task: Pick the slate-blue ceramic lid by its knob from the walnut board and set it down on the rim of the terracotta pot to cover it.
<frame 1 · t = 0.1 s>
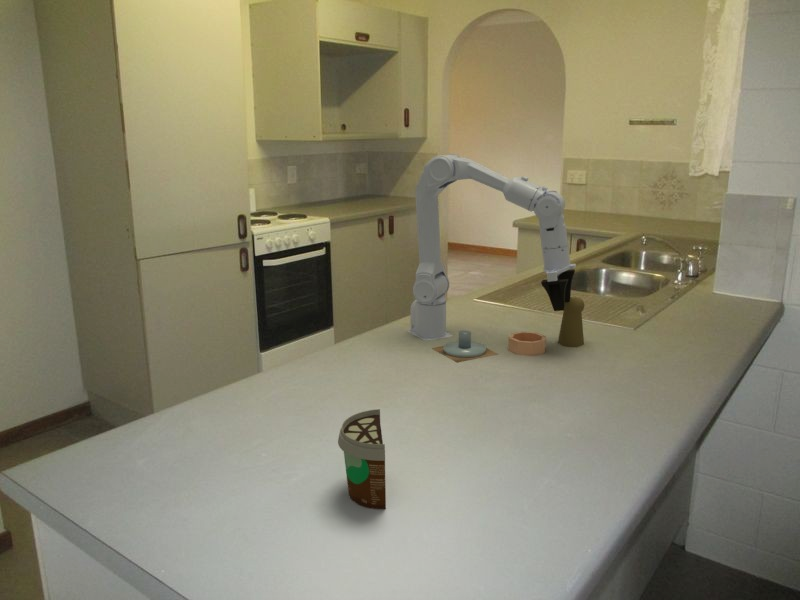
hand: (562, 306, 148), 11 cm above the worktop, tool pointing down, fingers open, 7 cm apart
lid: (464, 351, 150), point 1 cm above the worktop, touching board
board: (464, 353, 150), on the worktop
pot: (526, 351, 150), on the worktop
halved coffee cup: (362, 493, 93), on the worktop
cork: (570, 343, 156), on the worktop
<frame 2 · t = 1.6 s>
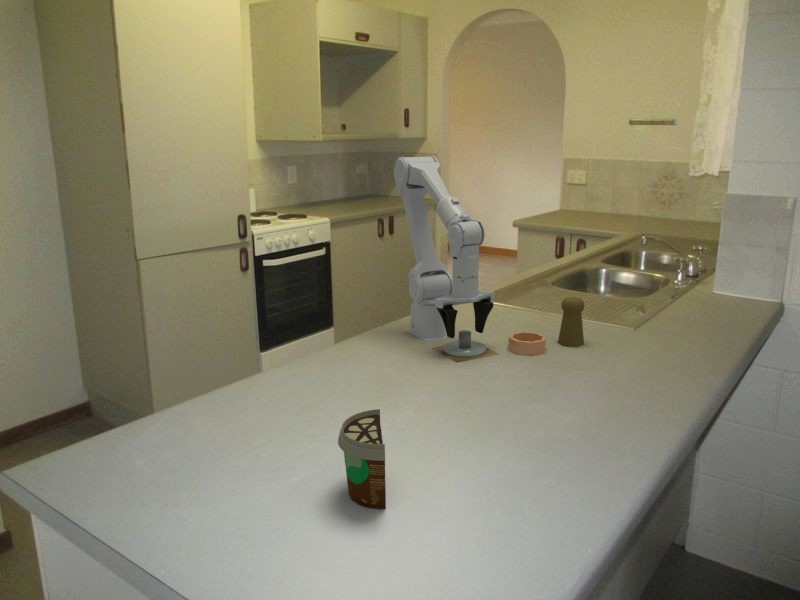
hand: (465, 334, 149), 5 cm above the worktop, tool pointing down, fingers open, 7 cm apart
nothing on the worktop moved.
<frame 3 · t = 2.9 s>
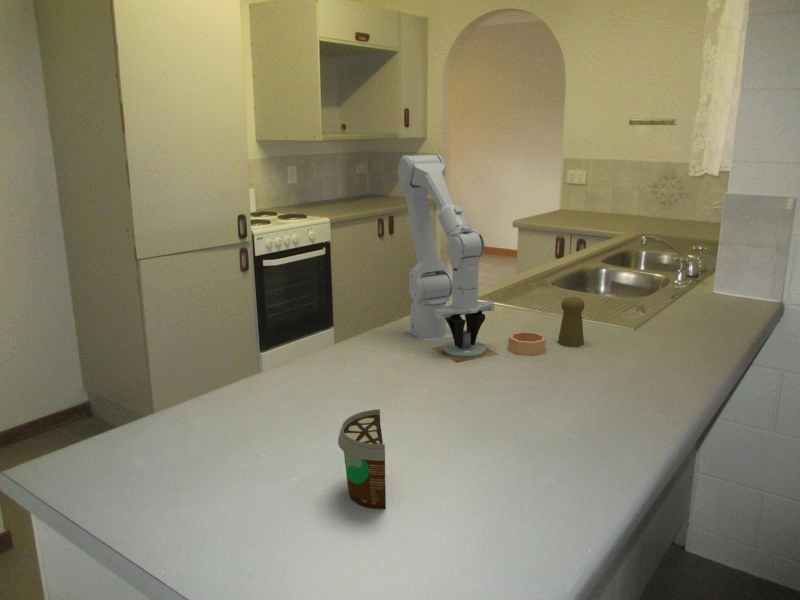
hand: (464, 345, 149), 2 cm above the worktop, tool pointing down, fingers closed on lid, 3 cm apart
lid: (464, 351, 150), point 1 cm above the worktop, touching board, gripper
everything else where it was.
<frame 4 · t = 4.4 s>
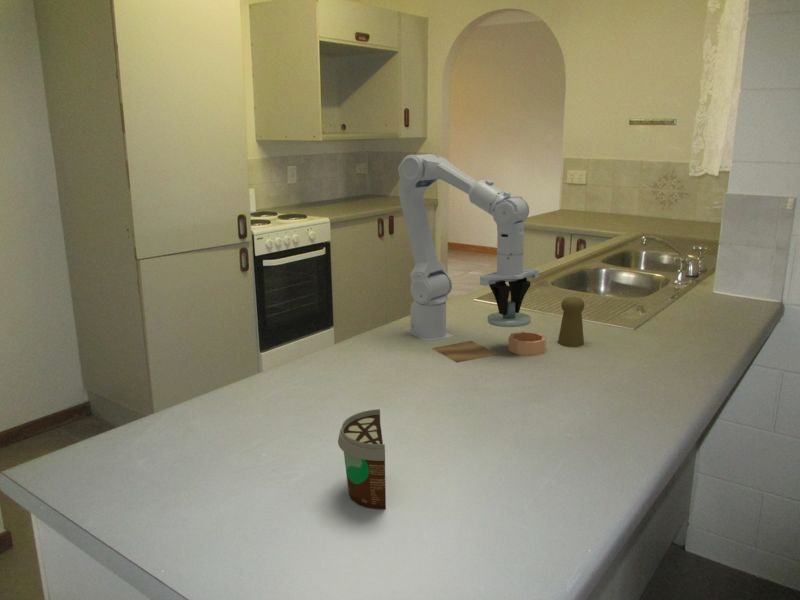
hand: (509, 312, 148), 9 cm above the worktop, tool pointing down, fingers closed on lid, 3 cm apart
lid: (509, 321, 148), point 7 cm above the worktop, touching gripper
everything else where it was.
when the fingers open (6 cm above the worktop, at t = 6.0 s): lid stays where it is, resting on pot.
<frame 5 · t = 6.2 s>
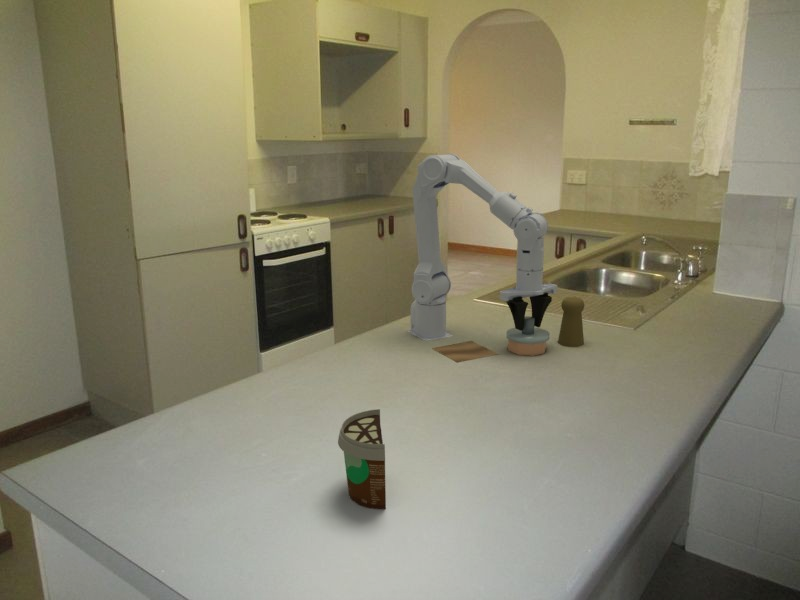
hand: (527, 327, 149), 6 cm above the worktop, tool pointing down, fingers open, 4 cm apart
lid: (527, 337, 149), point 3 cm above the worktop, touching pot
everything else where it was.
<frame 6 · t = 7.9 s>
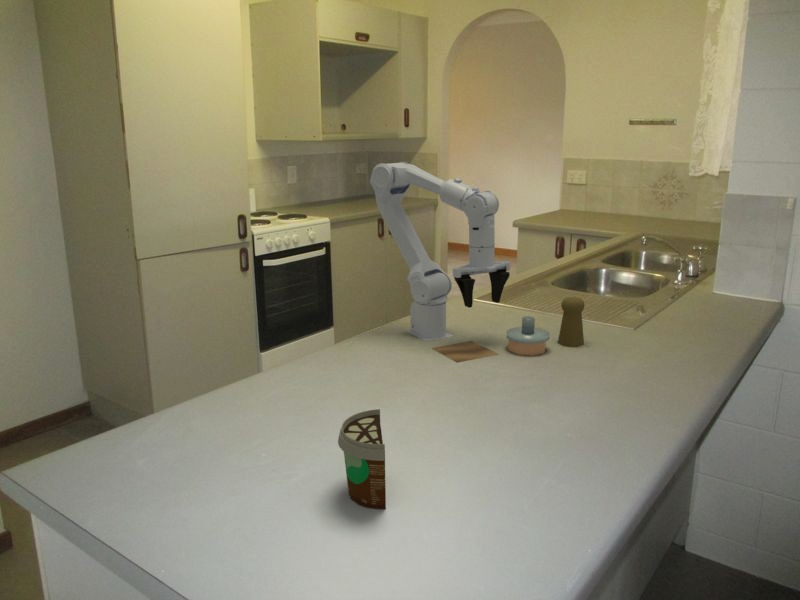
hand: (482, 304, 152), 10 cm above the worktop, tool pointing down, fingers open, 7 cm apart
nothing on the worktop moved.
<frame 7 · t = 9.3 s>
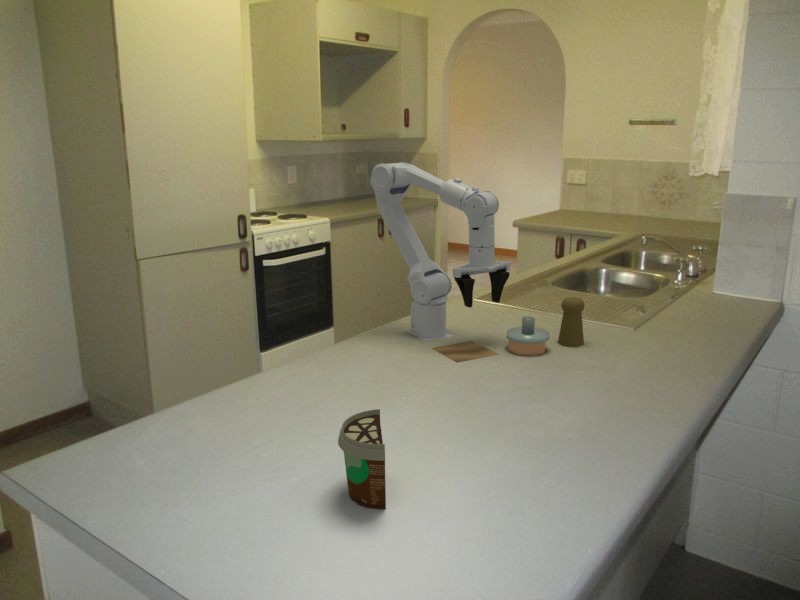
hand: (482, 304, 152), 10 cm above the worktop, tool pointing down, fingers open, 7 cm apart
nothing on the worktop moved.
at the end: lid 0.1 cm off-centre on the pot, point 3.5 cm above the pot's base; lid tilted 0°; the gripper is holding nothing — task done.
